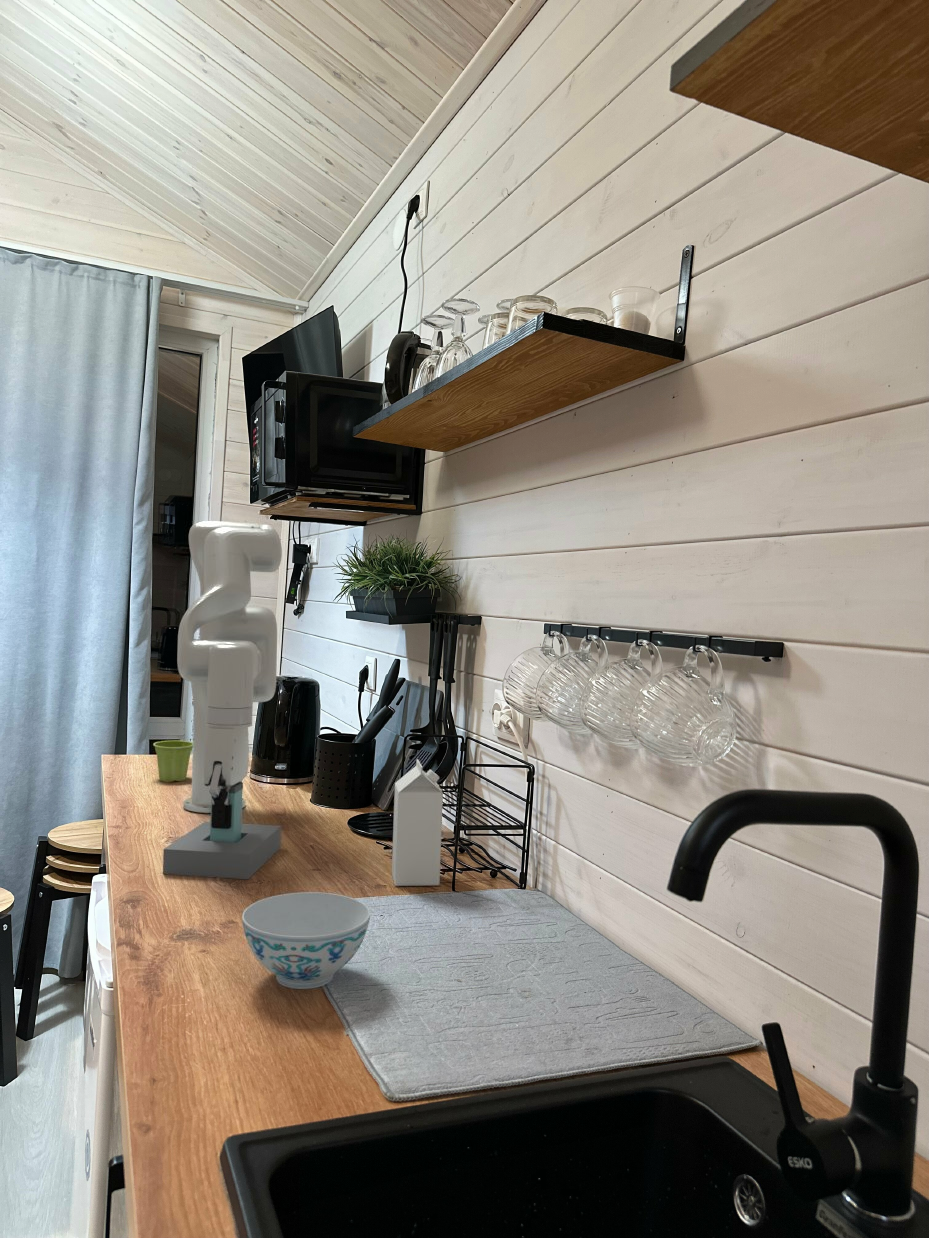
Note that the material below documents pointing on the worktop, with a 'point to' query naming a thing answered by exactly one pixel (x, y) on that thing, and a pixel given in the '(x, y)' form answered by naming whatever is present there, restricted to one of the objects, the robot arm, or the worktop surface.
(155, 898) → the worktop surface
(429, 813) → the milk carton
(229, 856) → the socket block
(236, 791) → the peg
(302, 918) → the chinaware
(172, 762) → the plant pot
